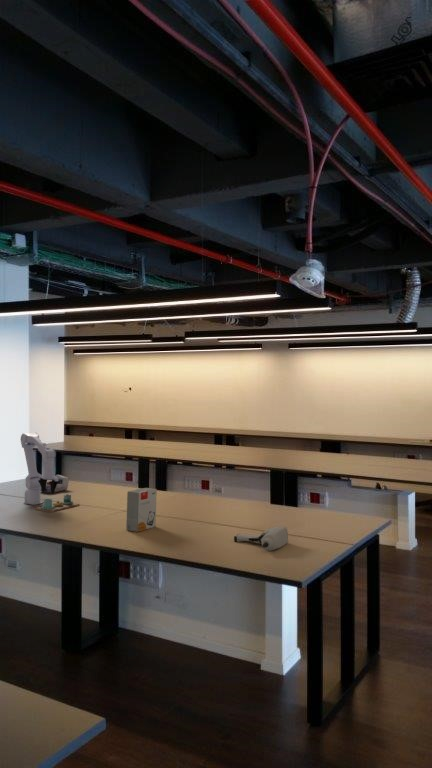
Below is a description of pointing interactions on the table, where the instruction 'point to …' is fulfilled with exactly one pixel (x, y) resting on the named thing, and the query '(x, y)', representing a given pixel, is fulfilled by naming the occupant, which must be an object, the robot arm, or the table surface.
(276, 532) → the impact wrench
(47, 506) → the gear
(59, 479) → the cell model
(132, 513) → the hard drive box
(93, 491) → the table surface
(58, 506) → the gear carrier
